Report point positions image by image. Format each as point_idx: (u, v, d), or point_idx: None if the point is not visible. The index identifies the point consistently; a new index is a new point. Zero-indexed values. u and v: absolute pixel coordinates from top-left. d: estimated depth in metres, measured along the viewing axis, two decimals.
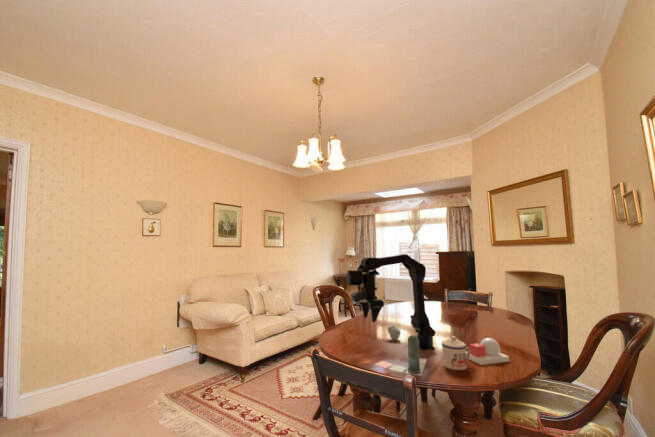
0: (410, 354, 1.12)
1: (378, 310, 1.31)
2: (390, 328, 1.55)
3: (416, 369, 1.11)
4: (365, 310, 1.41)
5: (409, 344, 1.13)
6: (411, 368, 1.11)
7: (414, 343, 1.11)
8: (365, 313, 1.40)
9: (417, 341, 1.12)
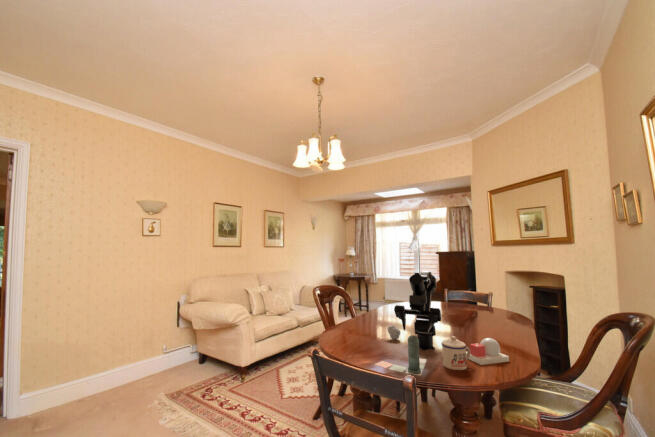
0: (410, 354, 1.12)
1: (433, 323, 1.23)
2: (390, 328, 1.55)
3: (416, 369, 1.11)
4: (404, 323, 1.25)
5: (409, 344, 1.13)
6: (411, 368, 1.11)
7: (414, 343, 1.11)
8: (404, 325, 1.24)
9: (417, 341, 1.12)
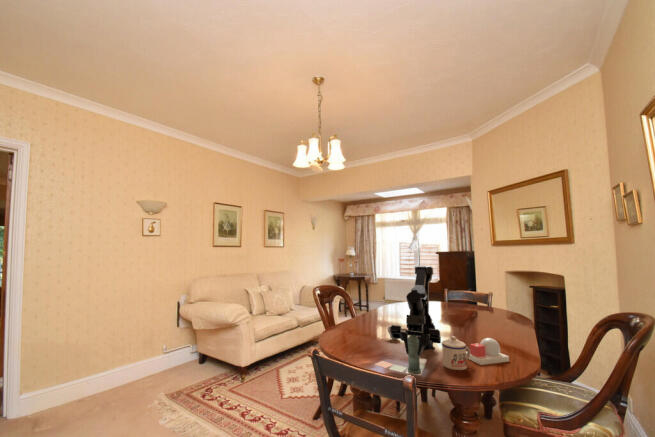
0: (410, 354, 1.12)
1: (425, 344, 1.15)
2: None
3: (416, 369, 1.11)
4: (407, 345, 1.15)
5: (409, 344, 1.13)
6: (411, 368, 1.11)
7: (414, 343, 1.11)
8: None
9: (417, 341, 1.12)
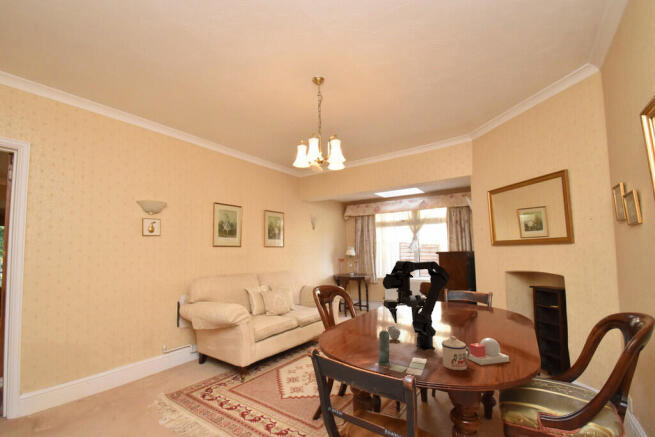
0: (379, 347, 1.20)
1: None
2: (390, 328, 1.55)
3: (384, 362, 1.18)
4: None
5: (379, 338, 1.20)
6: (380, 360, 1.19)
7: (383, 337, 1.19)
8: None
9: (386, 336, 1.19)
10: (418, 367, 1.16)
